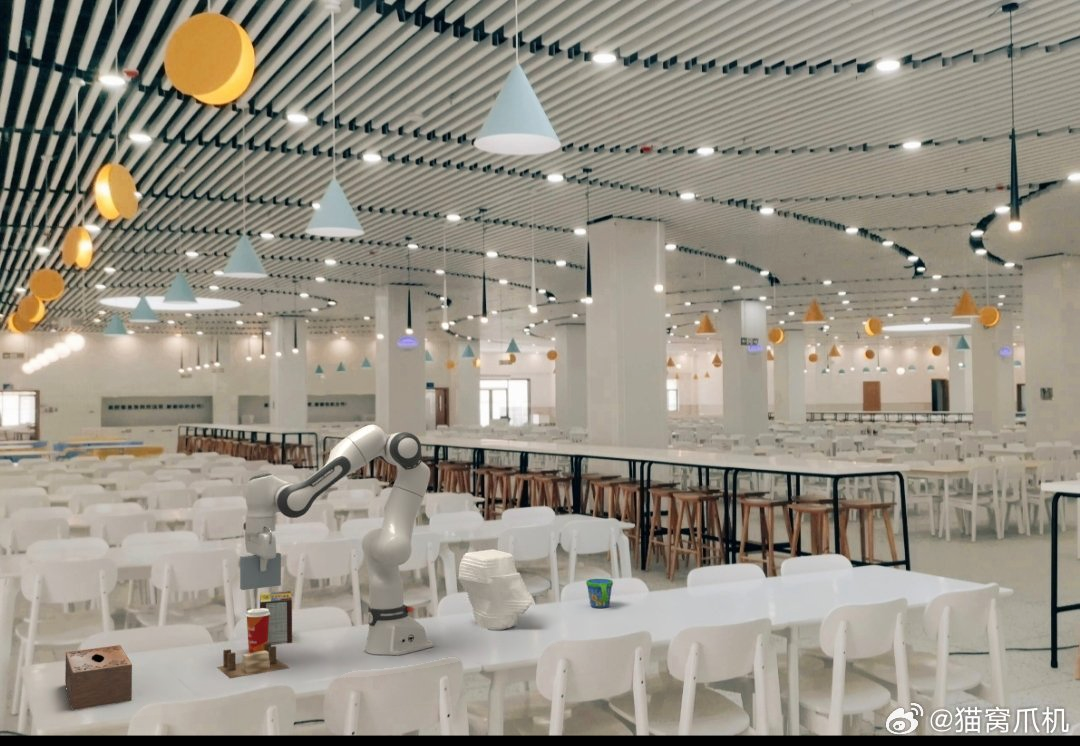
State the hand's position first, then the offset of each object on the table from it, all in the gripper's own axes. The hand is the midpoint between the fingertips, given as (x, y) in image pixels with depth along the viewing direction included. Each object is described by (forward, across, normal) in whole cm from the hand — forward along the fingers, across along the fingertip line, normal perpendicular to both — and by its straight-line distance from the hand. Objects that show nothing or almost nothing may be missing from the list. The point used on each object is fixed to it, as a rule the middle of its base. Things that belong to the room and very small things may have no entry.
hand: (260, 570), depth 283 cm
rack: (+29, -6, +4) cm, 30 cm away
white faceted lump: (+29, -1, -84) cm, 89 cm away
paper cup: (+29, +13, -3) cm, 32 cm away
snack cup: (+29, +2, -135) cm, 138 cm away
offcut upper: (+26, -9, +4) cm, 28 cm away
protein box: (+29, +26, -13) cm, 41 cm away
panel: (+5, 0, 0) cm, 5 cm away
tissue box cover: (+30, -2, +46) cm, 55 cm away
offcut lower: (+28, -9, +4) cm, 30 cm away
